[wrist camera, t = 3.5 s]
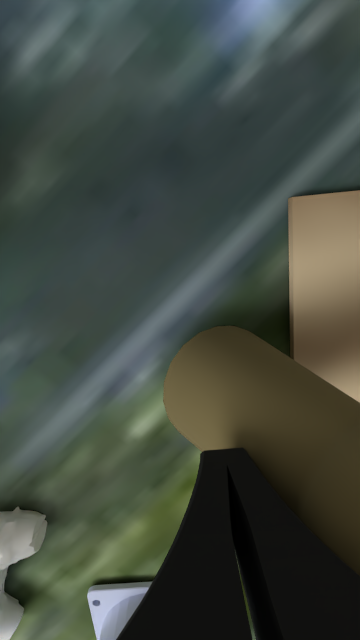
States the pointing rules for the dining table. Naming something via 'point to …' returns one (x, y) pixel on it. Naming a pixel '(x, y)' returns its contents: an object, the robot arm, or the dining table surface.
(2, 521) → the sitting furry creature
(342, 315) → the wooden board
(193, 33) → the dining table surface
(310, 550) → the robot arm
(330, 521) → the pepper shaker
